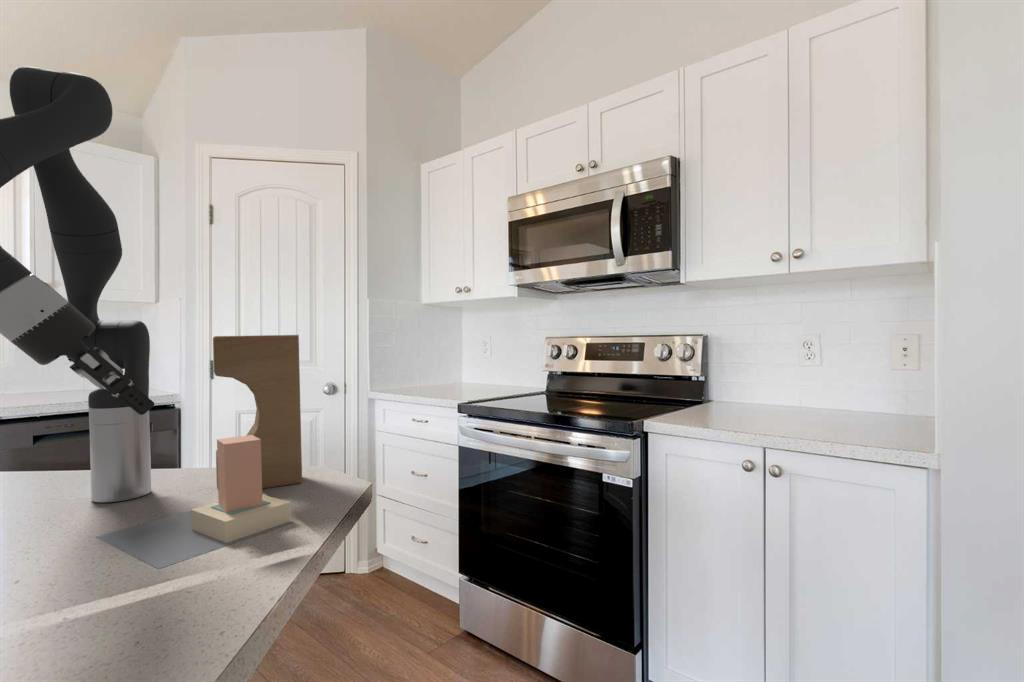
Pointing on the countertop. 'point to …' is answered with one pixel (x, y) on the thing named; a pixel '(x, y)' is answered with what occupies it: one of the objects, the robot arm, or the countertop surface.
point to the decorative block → (268, 398)
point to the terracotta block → (239, 472)
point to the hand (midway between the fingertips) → (143, 406)
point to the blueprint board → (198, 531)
